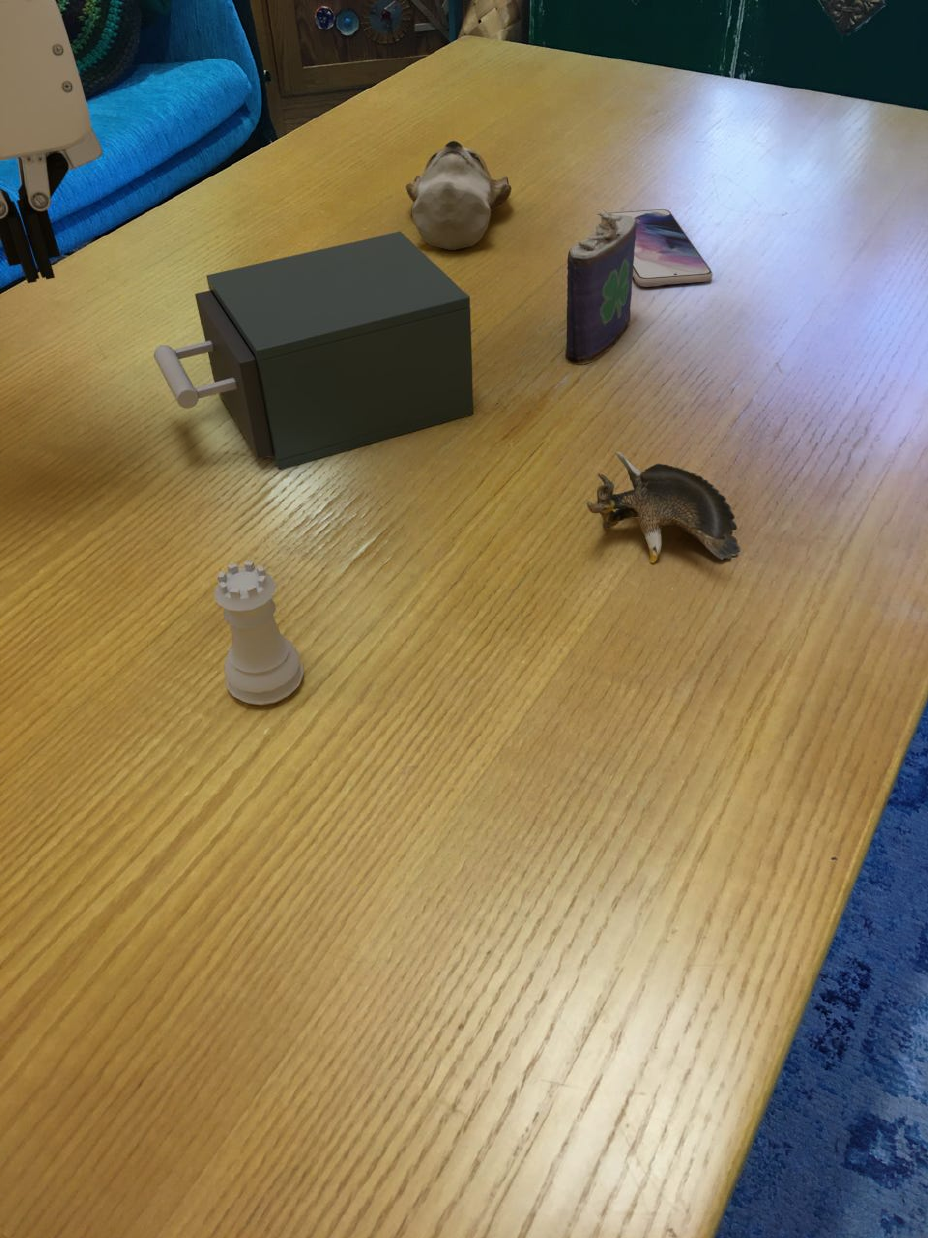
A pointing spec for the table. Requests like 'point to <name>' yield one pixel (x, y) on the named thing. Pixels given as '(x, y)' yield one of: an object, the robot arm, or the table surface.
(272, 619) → the rook chess piece
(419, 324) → the cabinet
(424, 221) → the ceramic sculpture
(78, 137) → the robot arm
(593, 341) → the flask
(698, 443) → the table surface
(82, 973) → the table surface
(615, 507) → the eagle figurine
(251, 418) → the drawer
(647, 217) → the smartphone
